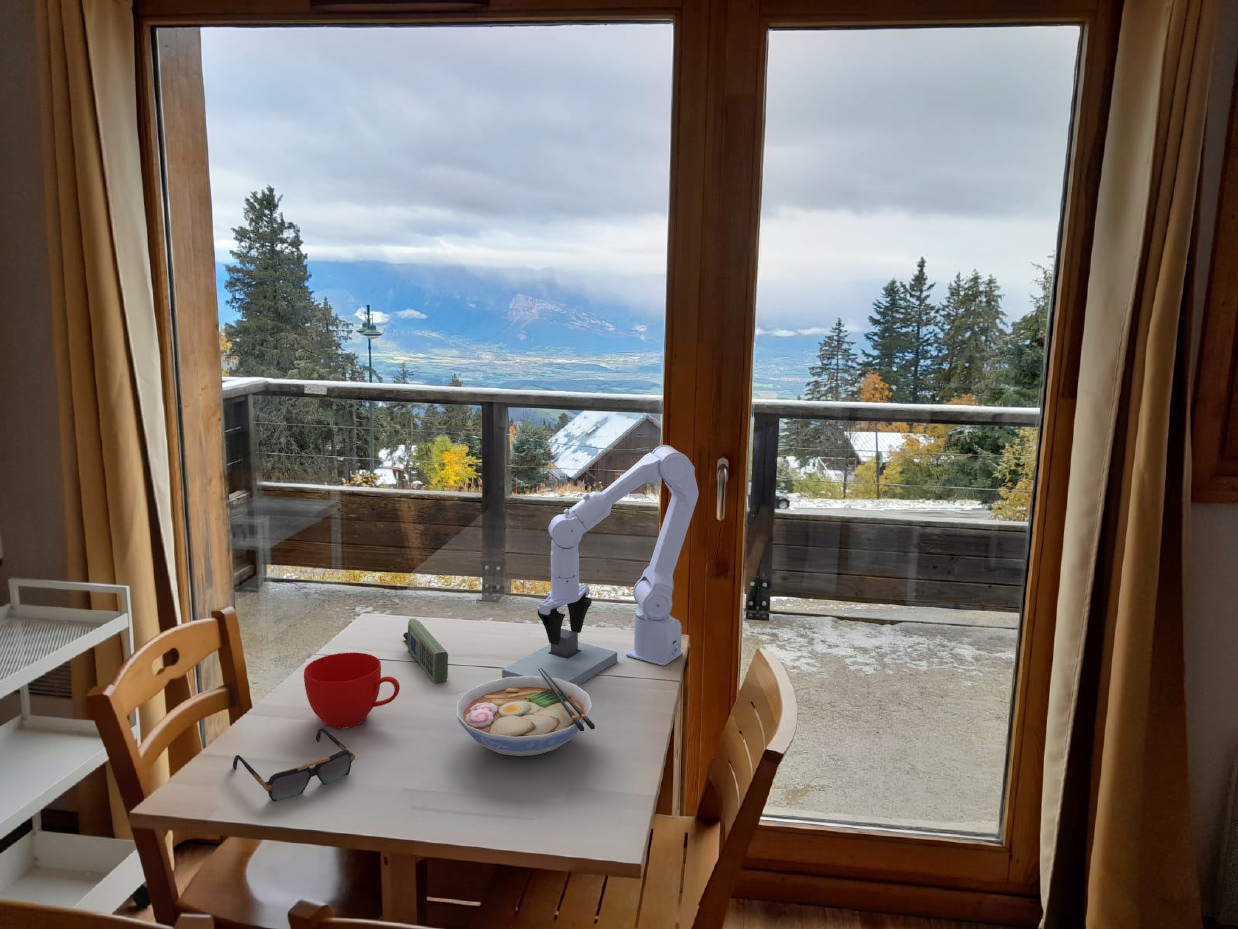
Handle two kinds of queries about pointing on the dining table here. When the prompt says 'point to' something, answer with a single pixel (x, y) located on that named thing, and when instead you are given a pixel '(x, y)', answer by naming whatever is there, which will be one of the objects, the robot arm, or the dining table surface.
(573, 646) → the block
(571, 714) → the ramen bowl
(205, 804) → the dining table surface
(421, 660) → the handheld radio
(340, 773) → the sunglasses
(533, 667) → the socket plate
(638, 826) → the dining table surface
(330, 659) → the ceramic cup
